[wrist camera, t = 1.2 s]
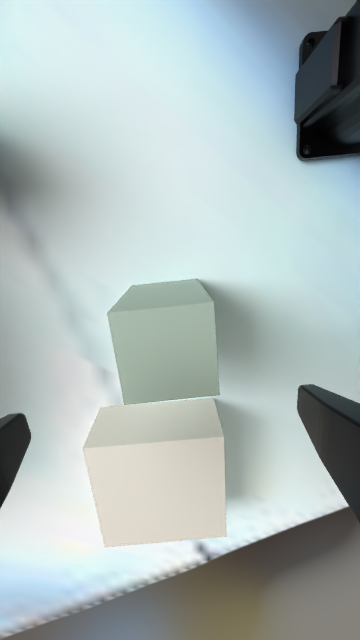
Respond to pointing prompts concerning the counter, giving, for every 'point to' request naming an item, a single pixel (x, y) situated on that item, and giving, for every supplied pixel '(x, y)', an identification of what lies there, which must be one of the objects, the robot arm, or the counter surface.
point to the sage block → (165, 342)
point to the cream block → (158, 472)
